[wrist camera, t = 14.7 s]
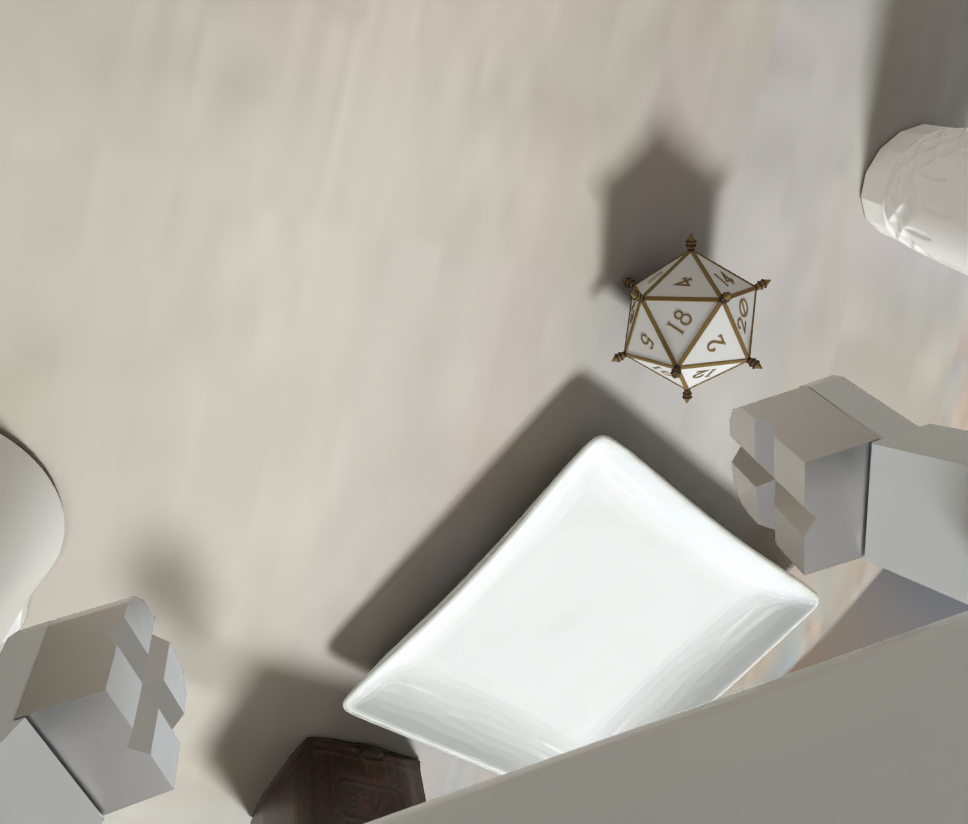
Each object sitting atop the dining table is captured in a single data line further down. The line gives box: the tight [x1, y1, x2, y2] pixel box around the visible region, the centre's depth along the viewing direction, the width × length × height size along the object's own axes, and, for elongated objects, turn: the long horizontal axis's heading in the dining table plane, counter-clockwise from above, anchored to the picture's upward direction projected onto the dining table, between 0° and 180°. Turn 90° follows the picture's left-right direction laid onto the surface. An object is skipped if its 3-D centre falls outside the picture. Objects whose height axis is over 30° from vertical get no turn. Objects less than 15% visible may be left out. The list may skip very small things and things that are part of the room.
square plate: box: [343, 435, 819, 775], centre depth 59 cm, size 27×27×4 cm
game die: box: [612, 234, 771, 403], centre depth 45 cm, size 9×8×10 cm
